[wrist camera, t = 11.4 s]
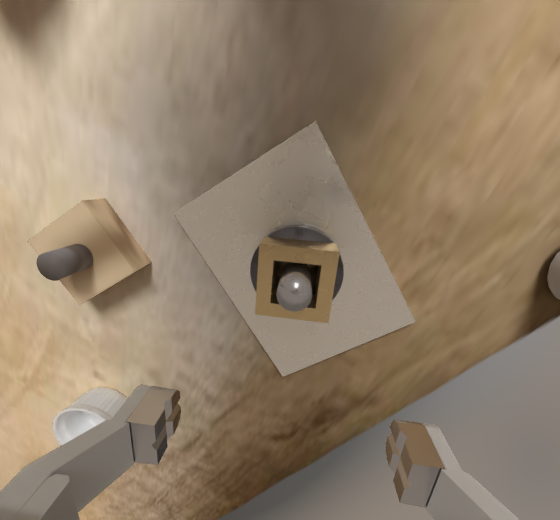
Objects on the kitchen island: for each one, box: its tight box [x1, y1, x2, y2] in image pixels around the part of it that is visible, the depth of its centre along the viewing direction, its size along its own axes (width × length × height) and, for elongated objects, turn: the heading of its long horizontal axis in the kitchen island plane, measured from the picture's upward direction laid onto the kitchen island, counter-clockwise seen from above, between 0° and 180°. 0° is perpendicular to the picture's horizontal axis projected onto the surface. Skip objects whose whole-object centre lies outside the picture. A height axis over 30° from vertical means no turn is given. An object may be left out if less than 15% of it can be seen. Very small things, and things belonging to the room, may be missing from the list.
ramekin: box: [53, 387, 128, 446], centre depth 35 cm, size 9×9×4 cm
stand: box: [27, 199, 151, 305], centre depth 26 cm, size 8×8×6 cm
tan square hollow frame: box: [255, 236, 340, 323], centre depth 24 cm, size 7×7×3 cm
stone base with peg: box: [173, 121, 415, 377], centre depth 24 cm, size 22×16×8 cm
